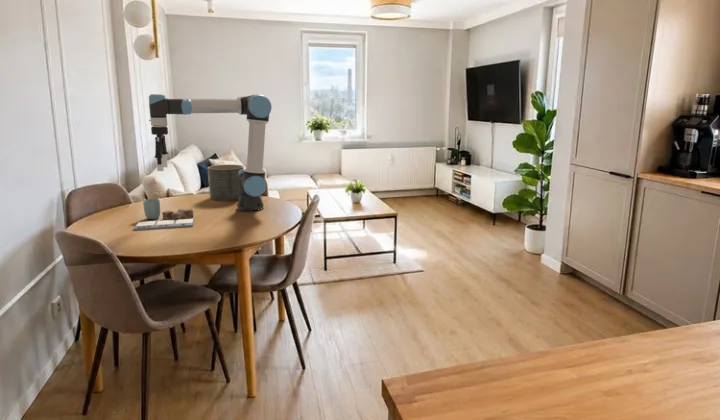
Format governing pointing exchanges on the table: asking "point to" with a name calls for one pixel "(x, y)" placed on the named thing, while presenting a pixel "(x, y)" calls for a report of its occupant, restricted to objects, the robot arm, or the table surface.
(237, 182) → the planter
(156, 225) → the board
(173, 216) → the walnut block
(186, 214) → the walnut block
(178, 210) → the grey ball
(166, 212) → the walnut block
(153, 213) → the cup
